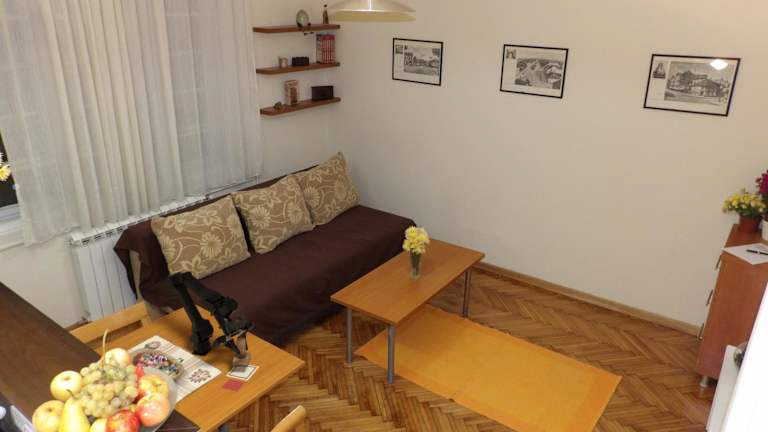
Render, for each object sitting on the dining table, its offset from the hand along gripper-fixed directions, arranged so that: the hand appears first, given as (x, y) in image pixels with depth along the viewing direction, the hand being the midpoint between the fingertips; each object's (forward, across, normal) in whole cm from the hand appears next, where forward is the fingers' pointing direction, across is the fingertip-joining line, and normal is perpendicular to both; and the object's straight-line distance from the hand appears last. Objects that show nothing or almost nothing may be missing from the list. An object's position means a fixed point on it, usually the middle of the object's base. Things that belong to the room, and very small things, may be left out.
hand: (243, 352), depth 232 cm
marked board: (+7, 0, +9) cm, 11 cm away
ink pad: (+10, -9, +6) cm, 14 cm away
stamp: (+3, 0, +5) cm, 6 cm away
